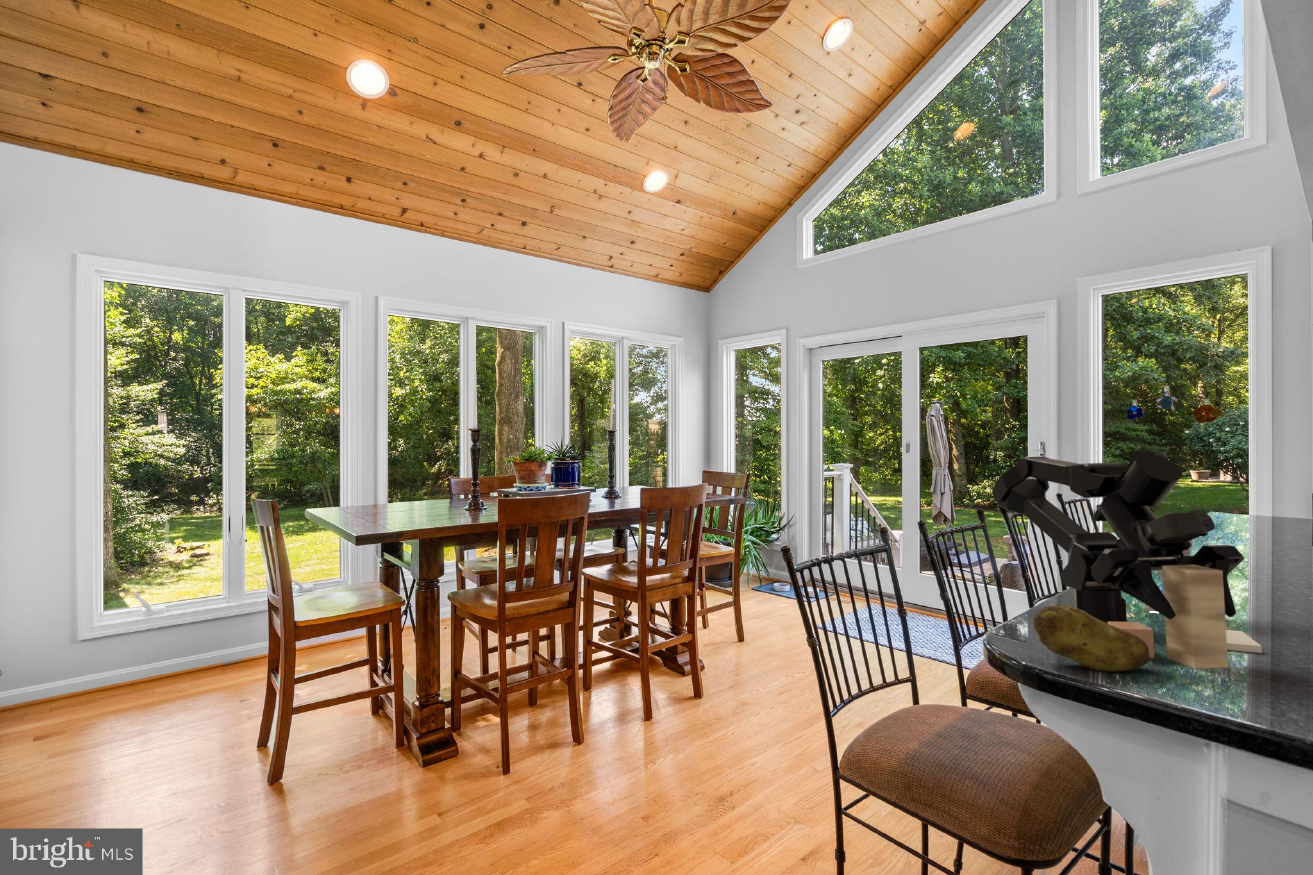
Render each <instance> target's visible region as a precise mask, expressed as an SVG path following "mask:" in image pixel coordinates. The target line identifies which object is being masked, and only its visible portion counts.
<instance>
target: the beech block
mask: <svg viewBox="0 0 1313 875" xmlns="http://www.w3.org/2000/svg"><path fill="white" fill-rule="evenodd" d="M1162 572H1163V584H1162V589H1163V594H1164V596H1165V597H1166V599H1167V600H1168V602H1169V603H1170V605H1171V607H1172V609H1173V610H1174V612H1175V614H1176V616H1175V617H1174V618H1173V619H1168V618H1167V617H1165V616H1164V620H1165V622H1164V624H1165V638H1166V639H1165V640H1166V657H1167V659H1169V660H1172V661H1174V662H1177V663H1178V664H1182V665H1183V666H1186V667H1189V668H1192V669H1194V670H1199V669H1228V668H1229V660H1228V659H1229V657H1228V650H1227V638H1226V630H1227V624H1226V614H1225V604H1224V588H1223V571H1222V570H1217V569H1212V568H1207V567H1203V566H1198V565H1170V566H1162Z"/></svg>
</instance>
